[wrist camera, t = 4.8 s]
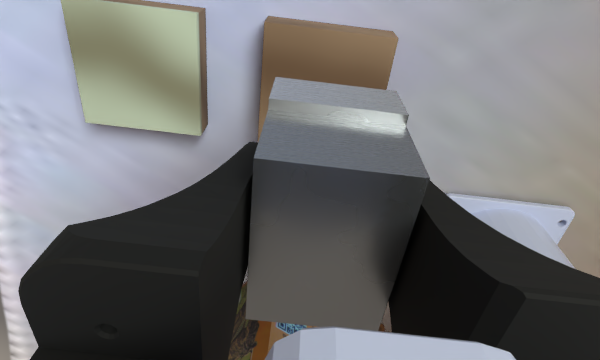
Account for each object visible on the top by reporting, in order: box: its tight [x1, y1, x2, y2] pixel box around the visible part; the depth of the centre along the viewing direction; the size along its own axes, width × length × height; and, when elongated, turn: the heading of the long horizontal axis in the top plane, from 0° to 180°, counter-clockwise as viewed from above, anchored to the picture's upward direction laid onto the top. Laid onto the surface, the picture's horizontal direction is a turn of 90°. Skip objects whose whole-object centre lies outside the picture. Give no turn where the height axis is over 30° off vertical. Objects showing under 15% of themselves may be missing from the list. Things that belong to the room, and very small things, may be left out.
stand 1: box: [61, 0, 208, 136], centre depth 19 cm, size 6×6×2 cm
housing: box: [246, 77, 430, 331], centre depth 11 cm, size 6×4×4 cm, turn 174°
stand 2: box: [258, 16, 398, 142], centre depth 19 cm, size 6×6×2 cm
